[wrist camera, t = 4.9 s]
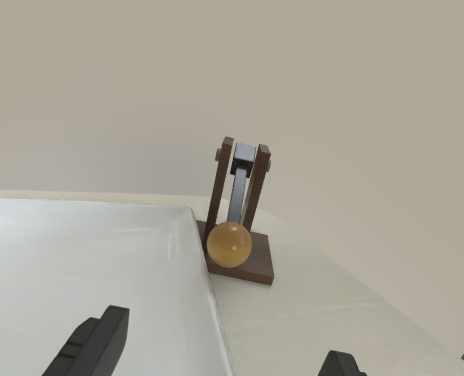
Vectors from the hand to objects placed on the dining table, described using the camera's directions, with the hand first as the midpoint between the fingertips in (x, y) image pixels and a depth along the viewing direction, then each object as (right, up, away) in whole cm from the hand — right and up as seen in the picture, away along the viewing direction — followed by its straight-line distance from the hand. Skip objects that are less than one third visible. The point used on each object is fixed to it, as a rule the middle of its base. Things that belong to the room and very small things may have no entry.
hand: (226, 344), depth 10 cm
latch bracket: (-1, -2, +23) cm, 23 cm away
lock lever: (0, +4, +16) cm, 16 cm away
